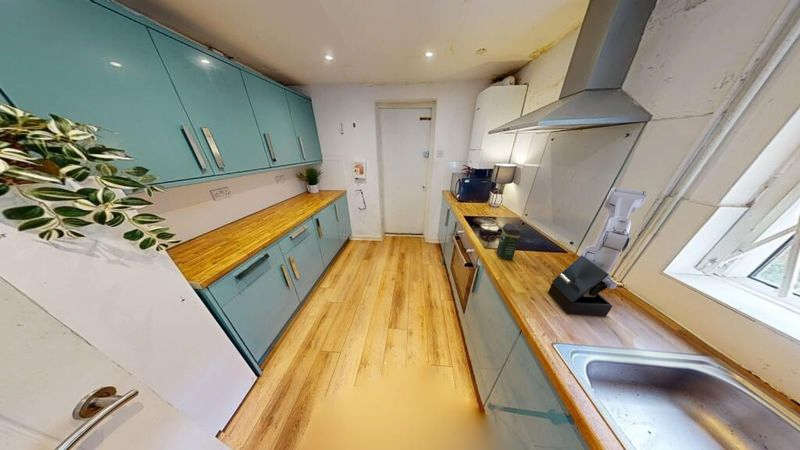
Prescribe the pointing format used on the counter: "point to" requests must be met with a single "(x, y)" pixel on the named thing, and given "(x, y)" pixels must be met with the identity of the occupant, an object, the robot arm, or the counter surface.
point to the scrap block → (588, 294)
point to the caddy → (580, 303)
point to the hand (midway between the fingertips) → (586, 290)
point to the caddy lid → (579, 278)
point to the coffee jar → (508, 241)
